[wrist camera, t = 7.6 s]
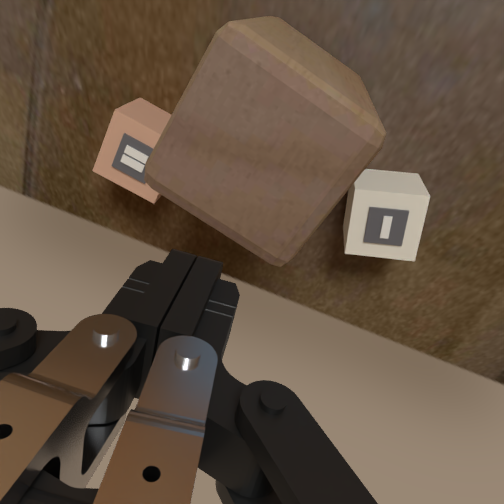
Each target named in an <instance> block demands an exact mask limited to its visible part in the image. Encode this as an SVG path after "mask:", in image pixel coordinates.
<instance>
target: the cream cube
mask: <svg viewBox="0 0 504 504" xmlns="http://www.w3.org/2000/svg"><path fill="white" fill-rule="evenodd" d="M429 199H430V195H429V193H428V191H427V189H426V187H425V186H424V184H423V182H422V180H421V178H420V176H419V174H416V173H405V172H394V171H383V170H372V169H365V170H364V171H363V172H362V173H361V175H360V176H359V177H358V178H357V180H356V181H355V182H354V183H353V185H352V186H351V187H350V188H349V190H348V197H347V203H346V210H345V216H344V223H343V234H344V250H345V254H353V255H362V256H371V257H380V258H389V259H398V260H407V261H415V258H416V254H417V249H418V245H419V241H420V237H421V233H422V229H423V224H424V220H425V216H426V212H427V208H428V203H429Z"/></svg>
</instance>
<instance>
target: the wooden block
mask: <svg viewBox="0 0 504 504" xmlns="http://www.w3.org/2000/svg"><path fill="white" fill-rule="evenodd" d="M385 136H386V131H385V129H384V127H383V125H382V123H381V120H380V118H379V116H378V114H377V112H376V110H375V107H374V105H373V103H372V101H371V99H370V96H369V94H368V92H367V90H366V88H365V86H364V83H363V82H362V80H361V78H360V76H359V75H358V74H356V73H355V72H354V71H352V70H351V69H349V68H348V67H347V66H345V65H344V64H343V63H341V62H340V61H338V60H337V59H336V58H334V57H333V56H331V55H330V54H329V53H327V52H326V51H325V50H323V49H322V48H320V47H319V46H318V45H316V44H315V43H314V42H312V41H311V40H309V39H308V38H307V37H305V36H304V35H303V34H301V33H300V32H298V31H297V30H296V29H294V28H293V27H291V26H290V25H289V24H287V23H286V22H285V21H283V20H282V19H280V18H278V17H273V16H266V17H258V18H251V19H244V20H236V21H229V22H228V23H226V24H225V25H224V26H223V27H221V28H220V29H219V30H218V31H216V33H215V35H214V37H213V39H212V41H211V43H210V44H209V46H208V48H207V50H206V52H205V54H204V56H203V57H202V59H201V61H200V63H199V65H198V67H197V69H196V71H195V72H194V74H193V76H192V78H191V80H190V82H189V84H188V85H187V87H186V89H185V91H184V93H183V95H182V97H181V99H180V100H179V102H178V104H177V106H176V108H175V110H174V112H173V114H172V115H171V117H170V119H169V121H168V123H167V125H166V127H165V128H164V130H163V132H162V134H161V136H160V138H159V140H158V142H157V143H156V145H155V147H154V149H153V151H152V153H151V155H150V156H149V158H148V160H147V162H146V164H145V176H144V181H145V182H146V183H147V184H148V185H149V186H150V188H152V189H153V190H155V191H156V192H158V193H159V194H161V195H163V196H164V197H166V198H167V199H169V200H170V201H172V202H174V203H175V204H177V205H178V206H180V207H181V208H183V209H185V210H186V211H188V212H189V213H191V214H192V215H194V216H196V217H197V218H199V219H200V220H202V221H203V222H205V223H207V224H208V225H210V226H211V227H213V228H214V229H216V230H218V231H219V232H221V233H222V234H224V235H225V236H227V237H229V238H230V239H232V240H233V241H235V242H236V243H238V244H240V245H241V246H243V247H244V248H246V249H247V250H249V251H251V252H252V253H254V254H255V255H257V256H258V257H260V258H262V259H263V260H265V261H266V262H268V263H269V264H271V265H275V266H279V267H281V266H283V265H284V264H286V263H287V262H289V261H290V260H292V259H293V258H294V257H295V256H296V254H297V253H298V252H299V251H300V249H301V248H302V247H303V246H304V244H305V243H306V242H307V241H308V240H309V238H310V237H311V236H312V235H313V233H314V232H315V231H316V230H317V228H318V227H319V226H320V225H321V223H322V222H323V221H324V220H325V218H326V217H327V216H328V215H329V213H330V212H331V211H332V210H333V208H334V207H335V206H336V205H337V203H338V202H339V201H340V200H341V198H342V197H343V196H344V195H345V193H346V192H347V191H348V190H349V188H350V187H351V186H352V185H353V183H354V182H355V181H356V180H357V178H358V177H359V176H360V175H361V173H362V172H363V171H364V170H365V169H366V167H367V166H368V165H369V164H370V162H371V161H372V160H373V159H374V157H375V156H376V155H377V154H378V152H379V151H380V150H381V149H382V146H383V143H384V140H385Z"/></svg>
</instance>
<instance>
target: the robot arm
mask: <svg viewBox="0 0 504 504" xmlns="http://www.w3.org/2000/svg"><path fill="white" fill-rule="evenodd" d="M222 267H223V262H220V261H216V260H212V259H209V258H205V257H201V256H198V258H197V255H194V254H190V253H187V252H183V251H179V250H176V249H172V250H171V252H170V253H169V255H168V256H167V258H166V260H165V261H164V262H163V264H162V263H159V262H155V261H151V260H150V261H148V262H146V263H144V264H142V265H140V266H138V267H137V268H136V269H135V270H134V271H133V273H132V274H131V275H130V277H129V279H127V281H126V282H125V283H124V285H123V287H122V288H121V289H120V290H119V291H118V293H117V294H116V295H115V297H114V298H113V300H112V301H111V302H110V304H109V305H108V306H107V307H106V309H105V310H104V312H103V313H102V314H98V315H93V316H89V317H87V318H85V319H83V320H82V321H80V322H79V323H78V324H77V325H76V326H75V327H74V329H72V330H71V331H42V330H37V324H36V321H35V319H34V318H33V317H32V316H31V315H30V314H29V313H27V312H25V311H22V310H18V309H13V308H0V504H190V503H191V498H192V493H193V488H194V483H195V478H196V473H197V468H199V469H201V470H202V471H204V472H205V473H207V474H208V475H210V476H211V477H213V478H214V479H216V490H217V492H218V495H219V497H220V499H221V501H222V503H223V504H377V502H376V501H375V499H374V498H373V497H372V495H371V494H370V493H369V491H368V490H367V489H366V487H365V486H364V485H363V483H362V482H361V481H360V479H359V478H358V477H357V475H356V474H355V473H354V471H353V470H352V469H351V468H350V466H349V465H348V463H347V462H346V461H345V459H344V458H343V457H342V455H341V454H340V453H339V451H338V450H337V449H336V447H335V446H334V445H333V443H332V442H331V441H330V439H329V438H328V437H327V435H326V434H325V433H324V431H323V430H322V429H321V427H320V426H319V425H318V423H317V422H316V421H315V419H314V418H313V417H312V415H311V414H310V413H309V411H308V410H307V409H306V407H305V406H304V405H303V403H302V402H301V401H300V399H299V398H298V397H297V396H296V394H295V393H294V392H293V391H291V390H290V389H289V388H287V387H286V386H284V385H282V384H279V383H277V382H273V381H265V380H263V381H256V382H253V383H251V384H249V385H245V384H243V383H241V382H239V381H238V380H237V379H235V378H234V377H233V376H231V375H230V374H229V373H228V371H227V370H226V369H225V367H224V365H223V363H222V358H223V354H224V351H225V348H226V345H227V341H228V338H229V334H230V331H231V327H232V323H233V319H234V315H235V311H236V308H237V304H238V300H239V296H240V295H239V292H238V289H237V286H236V284H235V283H232V282H228V281H225V280H221V279H220V276H221V272H222ZM134 398H138V399H139V400H138V403H137V405H136V408H135V410H132V409H131V410H130V412H129V414H128V416H127V418H126V412H127V410H128V409H129V407H130V405H131V403H132V401H133V399H134ZM125 418H126V421H125ZM124 421H125V423H124ZM123 424H124V426H123ZM122 426H123V428H122V431H121V433H120V436H119V438H118V441H117V444H116V446H115V449H114V451H113V454H112V456H111V459H110V461H109V464H108V466H107V469H106V472H105V475H104V477H103V480H102V482H101V484H100V487H99V489H90V488H85V487H86V485H87V484H88V482H89V480H90V479H91V477H92V475H93V474H94V472H95V470H96V469H97V467H98V465H99V464H100V462H101V460H102V459H103V457H104V455H105V454H106V452H107V450H108V449H109V447H110V446H111V444H112V442H113V441H114V439H115V437H116V436H117V434H118V432H119V431H120V429H121V427H122Z"/></svg>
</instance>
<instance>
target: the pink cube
mask: <svg viewBox="0 0 504 504" xmlns="http://www.w3.org/2000/svg"><path fill="white" fill-rule="evenodd" d="M170 117H171V114H169V113H167V112H165V111H164V110H162V109H160V108H158V107H156V106H155V105H153V104H151V103H149V102H147V101H146V100H144V99H142V98H138V99H136V100H134V101H132V102H130V103H127V104H125V105H123V106H121V107H119V108H117V109H115V111H114V113H113V116H112V119H111V122H110V124H109V127H108V130H107V133H106V135H105V138H104V141H103V144H102V146H101V149H100V152H99V155H98V157H97V160H96V163H95V166H94V168H93V171H94V172H96V173H97V174H99V175H101V176H103V177H105V178H107V179H109V180H110V181H112V182H114V183H116V184H118V185H120V186H122V187H124V188H125V189H127V190H129V191H131V192H133V193H135V194H137V195H138V196H140V197H142V198H144V199H146V200H148V201H150V202H152V203H153V204H154V203H155V202H156V201H157V200H158V199H159V198H160V197H161V196H162V195H161V194H159V193H158V192H156V191H155V190H153V189H152V188H150V186H149V185H148V184H147V183H146V182H145V181H144V176H145V164H146V162H147V160H148V158H149V156H150V155H151V153H152V151H153V149H154V147H155V145H156V143H157V142H158V140H159V138H160V136H161V134H162V132H163V130H164V128H165V127H166V125H167V123H168V121H169V119H170Z"/></svg>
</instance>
